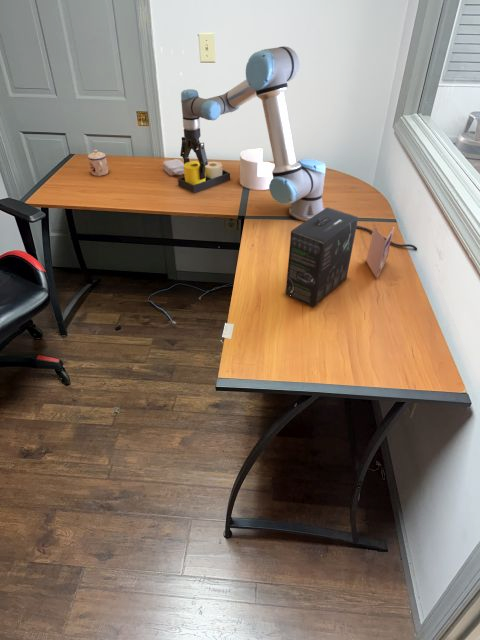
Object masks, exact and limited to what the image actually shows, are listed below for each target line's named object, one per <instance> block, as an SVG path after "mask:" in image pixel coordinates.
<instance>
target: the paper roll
mask: <svg viewBox="0 0 480 640" xmlns="http://www.w3.org/2000/svg"><path fill="white" fill-rule="evenodd" d="M222 170H223V163H222V162H220V161H208V165H206V166H205V176H207V177H209V178H211V179H213V178H216V177H219V176H222Z"/></svg>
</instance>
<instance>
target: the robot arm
mask: <svg viewBox="0 0 480 640" xmlns="http://www.w3.org/2000/svg"><path fill="white" fill-rule="evenodd" d="M247 60H248V61H247V62H246V64H245V65H246V66H245V78H246V79H244V80H243V81H241V82H240V83H238V84H237V85H235V86H234V87H233V88H231V89H229V90H228V91H226V92H225V93H223V94H220V95H215V96H212V97H209V98H208V97H207V98H203V97H200V96H199V91H198V90H197V89H193V88H192V89H190V88H188V89H183V90H182V91H181V93H180V102H181V114H182V128H183V136H182V137H181V147H180V154H179V156H180V157H182V159H183V164H185V163H187V162H191V161H190V154H191V151H193V153H194V154H195V156H196V158H197V161H198V162H199V163H200V166H199V173H200V180H202V179H205V166H206V165H208V162H209V160H208V157H207V153H206V149H205V143H204V142H200V141H201V140H200V138H201V121H200V120H201V119H204V120H207V121H216V120H217V119H219V117H220V116H221V115H225V114H228V113H233V112H235V111H238V110H239V108H240V107H241V106H243V105H244V104H247V103H248V102H249V101H251V100H252V99H254V98H258V99H260V100H261V104H262V108H263V113H264V118H265V125H266V128H267V134H268V139H269V143H270V144H269V145H270V149H271V155H272V159H273V164H275V167H274V169H273V170H272V174H273V179H272V180H271V182H270V184H269V189H268V191H269V194H270V195H271V197H272V199H273V200H274V201H276V202H277V203H278V204H279V205H283V206H287V205H290V206H289V208H288V209H289V210H288V214H289V216H290V217H291V218H293V219H294V220H297V221H301V222H305V221H307V220H309V219H310V218H312V217H313V216H315V215H316V214H318V213H319V212H321V211H322V210H324V209H325V206H324V202H323V192H324V187H325V186H324V185H325V178H326V168H327V166H326V164H325V163H324V162H323V161H320V160H318V159H317V160H316V159H311V158H302V159H299V160H298V161H297V155H296V152H295V151H296V150H295V145H294V139H293V134H292V128H291V123H290V116H289V111H288V106H287V100H286V93H287V92H286V91H287V90H288V89H289V87H288V82H291V81H292V80H293V79H294V78H295V77H296V76H297V74H298V73H299V69H300V59H299V56H298V53H296V51H295V50H294V49H293V48H291V47H289V46H284V45H283V46H278V47H271V48H264V49H261V50H258V51H255V52H254V53H253V54H251V56H249V58H248V59H247ZM200 118H201V119H200ZM356 229H361V230H364V231H367V232H369V233H372V232H373V229H370V228H368V227H364V226H361V225H357V227H356ZM383 238H384V239H385V241H386V240H387V238H386V237H385V236H383ZM390 245H393V246H395V247H399V248H405V247H406V248H407V247H409V248H413V249H414V250H415V251H418V250H417V249H418V247H416V246H415V245H413V244H409V243H408V244H399V243H396V242H393V241H391V242H390Z"/></svg>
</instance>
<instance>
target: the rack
mask: <svg viewBox="0 0 480 640" xmlns="http://www.w3.org/2000/svg"><path fill="white" fill-rule="evenodd" d="M205 179H206V181H205V182H202V183H199V184H196V185H191V184H189V183H187V182H185V175H184V176H182V177H179V178H177V184H178V185H177V186H178V187H180V188H182V189H184V190H186V191H188V192H190V193H192V194H195V193H199V192H202V191H204V190H206V189H209V188H212V187H214V186H215V187H216V186H218V185H220V184H223V183H226V182H228V181H231V172H229V171H227V170H223V169H222V176H219V177H216V178H213V179H211V178H209V177H207V176H205Z"/></svg>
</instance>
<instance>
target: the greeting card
mask: <svg viewBox="0 0 480 640" xmlns="http://www.w3.org/2000/svg"><path fill="white" fill-rule="evenodd" d="M394 229H395V227H393V228H392V230H391V231H390V233H389V234H388V236H387V238H386V239H387V240H386V241H385V239H384V238H385V237H384V236H383V235H382V234H381V232H380V231H379V228H377V227H376V225H375V224H374V225H373V228H372V231H373V232H371V237H370V241H369V246H368V250H367V255H366V260H365V262H366V263H367V265H368V267H369V268H370V270H371V271H372V273H373V275H374V277H375V278H376V279H377V278H378V277H379V275H380V273H381V271H382V269H383V267H384V266H385V265H386V261H387V258H388V256H389V252H390V246H391V244H390V242H392V237H393V234H394ZM383 237H384V238H383Z"/></svg>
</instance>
